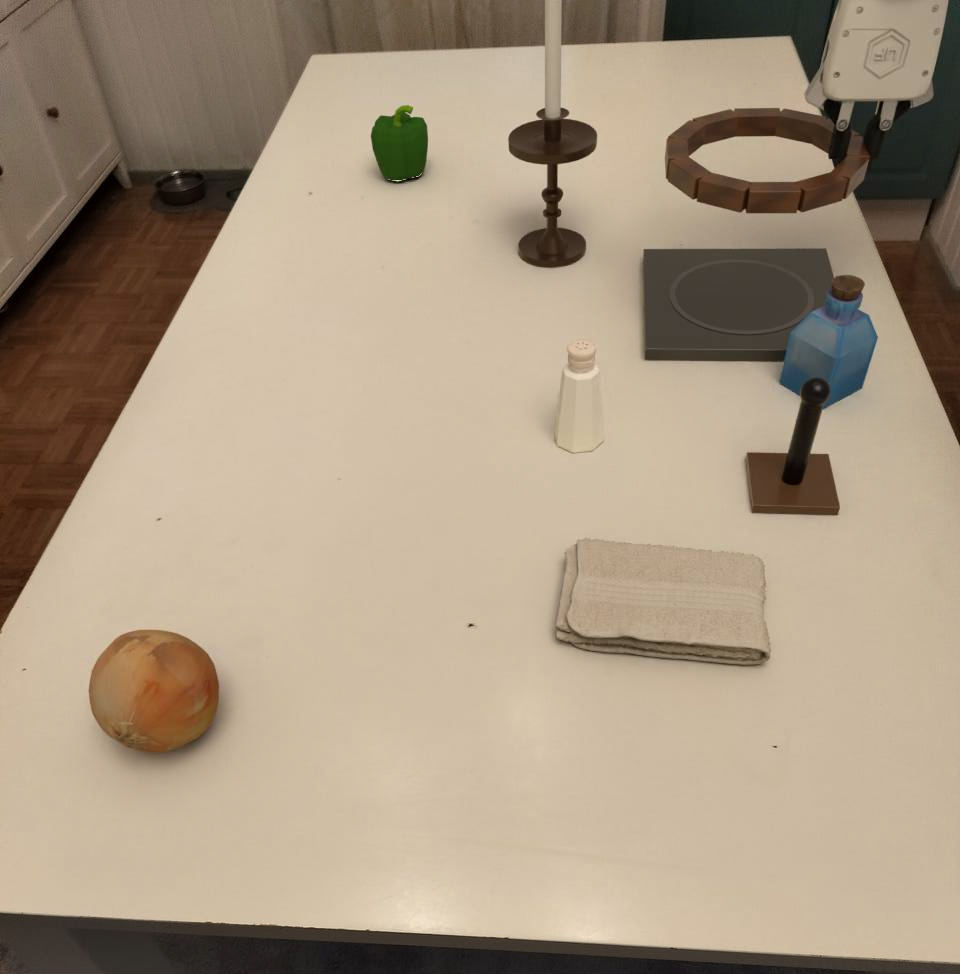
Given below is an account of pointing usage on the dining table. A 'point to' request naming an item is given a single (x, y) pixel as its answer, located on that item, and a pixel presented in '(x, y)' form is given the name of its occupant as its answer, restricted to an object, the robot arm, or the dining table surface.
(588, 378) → the pepper shaker
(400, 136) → the bell pepper
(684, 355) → the hob
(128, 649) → the onion
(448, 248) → the dining table surface
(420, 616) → the dining table surface
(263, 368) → the dining table surface
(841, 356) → the perfume bottle
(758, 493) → the post
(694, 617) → the washcloth
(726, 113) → the ring
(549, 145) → the candlestick
